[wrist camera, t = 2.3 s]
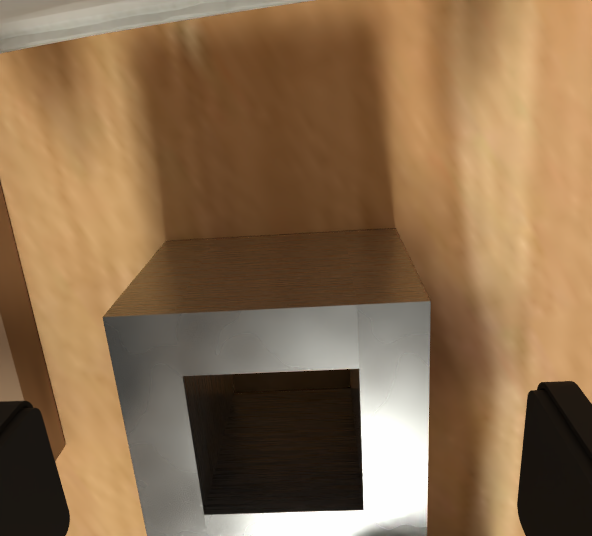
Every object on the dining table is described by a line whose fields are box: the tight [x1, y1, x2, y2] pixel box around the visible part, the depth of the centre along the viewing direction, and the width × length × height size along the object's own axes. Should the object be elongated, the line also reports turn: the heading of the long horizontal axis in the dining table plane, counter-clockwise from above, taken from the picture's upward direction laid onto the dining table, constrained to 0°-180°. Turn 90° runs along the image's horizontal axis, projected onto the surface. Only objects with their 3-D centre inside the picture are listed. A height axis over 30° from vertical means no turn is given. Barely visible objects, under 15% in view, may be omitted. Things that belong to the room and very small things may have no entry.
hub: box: [103, 228, 431, 536], centre depth 14 cm, size 6×6×5 cm
